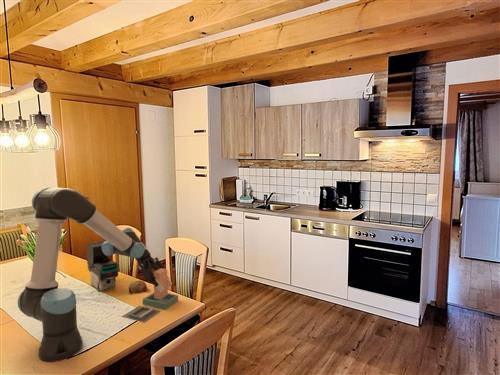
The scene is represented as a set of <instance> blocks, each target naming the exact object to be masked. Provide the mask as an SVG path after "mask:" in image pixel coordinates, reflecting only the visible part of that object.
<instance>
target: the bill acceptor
mask: <svg viewBox="0 0 500 375" xmlns="http://www.w3.org/2000/svg"><path fill="white" fill-rule="evenodd" d="M105 241H106V240H102V241H95V242H89V243H87V244H86V248H87V250H86V257H87V260H86V261H87V271H88V272H90V285H91V286H93V287H95V289H97V290H96V291H97V292H107V291H111V290H114V289H115V288H116V287H117V284H116V283H117V280H116V278H118V276H119V264H118V262H115V261H114V260H111V258H110V257H111V256H106V255H105V254H104V253H103V251H102V244H103V243H104V242H105Z"/></svg>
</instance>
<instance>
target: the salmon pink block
mask: <svg viewBox="0 0 500 375" xmlns="http://www.w3.org/2000/svg"><path fill="white" fill-rule="evenodd" d="M152 272H153V275H154V277H155V279H157V280H158V281H159V282H160V284H161V285H162V286H163V288H164V289H163V290H162V291H161V292H160V291H159V290H158V288H157V287H155V285H154V284H153V293H154V298H155V299H160V300H161V299H162V298H164V297H165V296H167V295H168V293H169V292H168V288H169V287H168V283H167V276H168V269H167V268H165V269H162V268H161V269H159V270H157V271H155V270H154V271H152Z"/></svg>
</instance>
